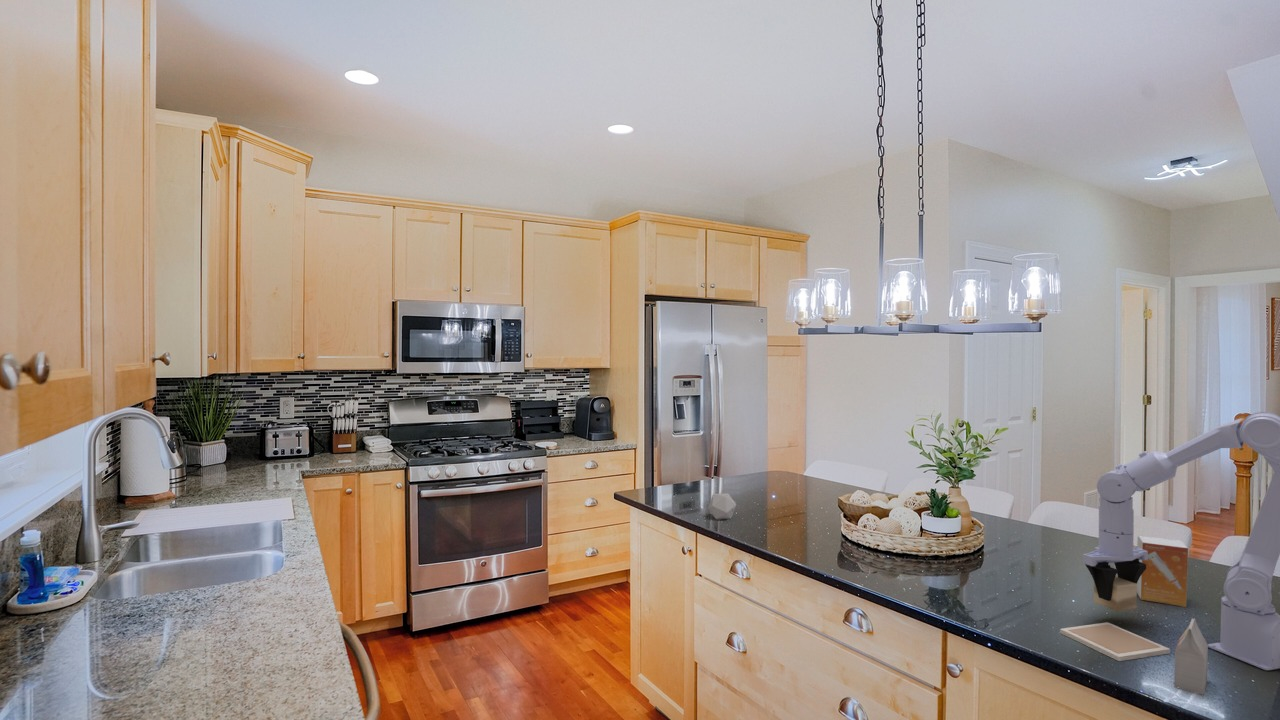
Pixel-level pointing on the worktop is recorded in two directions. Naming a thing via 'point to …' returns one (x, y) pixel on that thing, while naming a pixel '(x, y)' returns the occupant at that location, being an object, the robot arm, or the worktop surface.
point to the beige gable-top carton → (1191, 660)
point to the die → (722, 506)
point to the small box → (1163, 571)
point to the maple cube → (1120, 596)
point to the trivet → (1114, 641)
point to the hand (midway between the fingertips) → (1115, 597)
